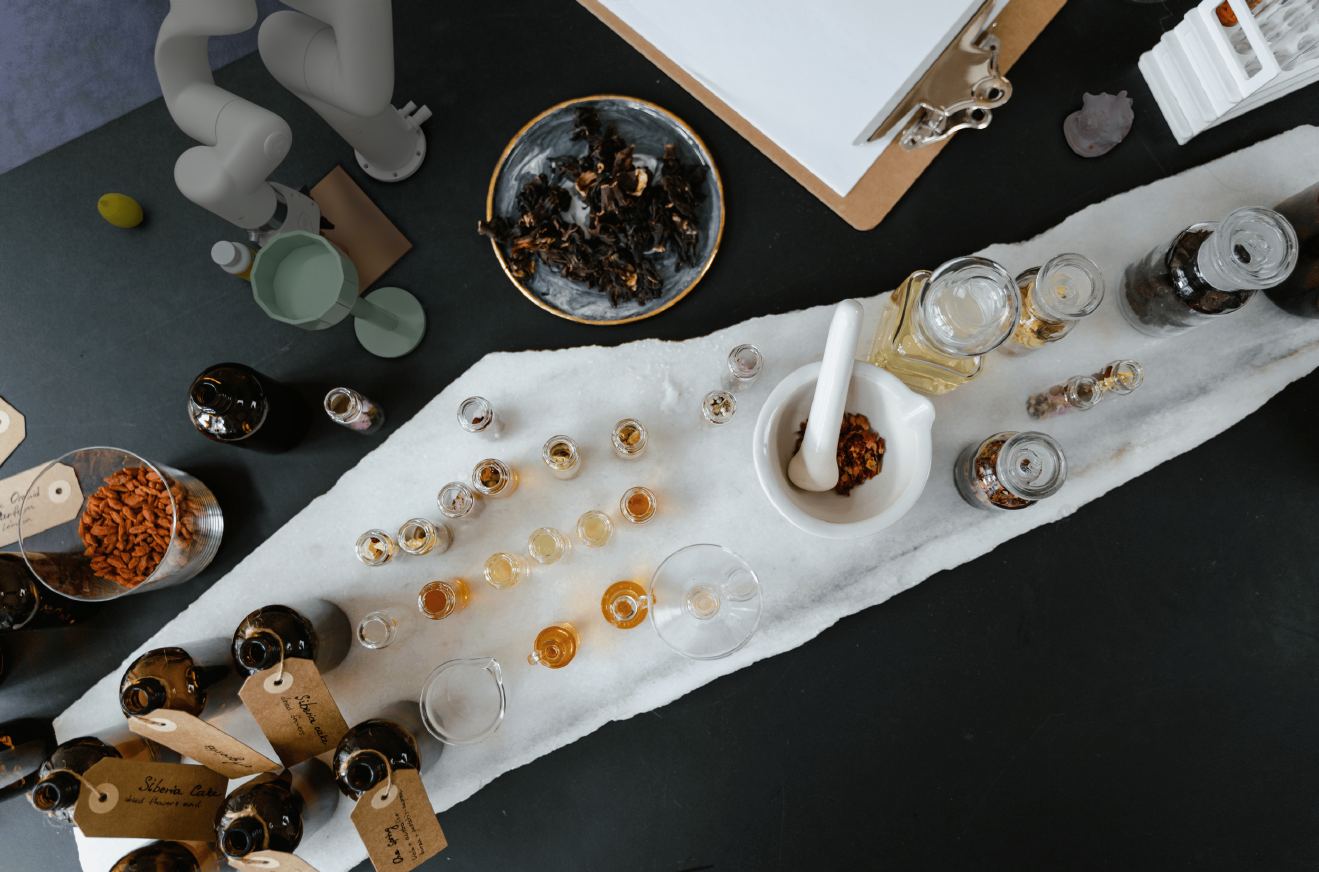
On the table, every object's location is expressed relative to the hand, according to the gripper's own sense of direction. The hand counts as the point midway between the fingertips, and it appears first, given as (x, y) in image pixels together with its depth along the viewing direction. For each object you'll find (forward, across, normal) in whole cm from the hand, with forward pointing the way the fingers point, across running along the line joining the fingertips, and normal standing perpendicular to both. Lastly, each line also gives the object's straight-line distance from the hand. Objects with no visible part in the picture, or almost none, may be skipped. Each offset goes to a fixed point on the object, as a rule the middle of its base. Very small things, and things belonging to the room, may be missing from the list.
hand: (324, 247), depth 113 cm
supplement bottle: (+5, -3, +14) cm, 15 cm away
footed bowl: (+5, -12, -10) cm, 16 cm away
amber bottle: (+4, 0, 0) cm, 4 cm away
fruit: (+5, +6, +37) cm, 38 cm away
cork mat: (+5, +2, +1) cm, 5 cm away
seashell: (+5, +27, -132) cm, 134 cm away
